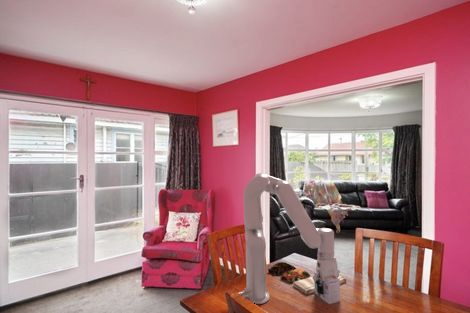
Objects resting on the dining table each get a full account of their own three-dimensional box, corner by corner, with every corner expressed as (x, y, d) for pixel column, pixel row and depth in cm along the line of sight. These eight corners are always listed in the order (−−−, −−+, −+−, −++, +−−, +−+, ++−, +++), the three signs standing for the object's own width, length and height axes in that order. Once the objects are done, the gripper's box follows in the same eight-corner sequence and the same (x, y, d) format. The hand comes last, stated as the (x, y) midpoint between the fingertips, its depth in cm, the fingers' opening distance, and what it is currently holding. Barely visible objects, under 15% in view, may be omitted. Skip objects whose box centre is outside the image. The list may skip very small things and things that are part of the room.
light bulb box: (314, 293, 127) (313, 271, 127) (325, 290, 130) (324, 269, 130) (329, 304, 117) (328, 280, 117) (340, 301, 120) (340, 278, 120)
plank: (306, 294, 126) (306, 290, 126) (293, 285, 135) (293, 281, 135) (346, 281, 139) (346, 277, 139) (331, 274, 148) (331, 271, 148)
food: (263, 272, 153) (263, 266, 153) (283, 264, 165) (283, 259, 165) (293, 286, 136) (293, 279, 136) (313, 276, 148) (313, 270, 148)
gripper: (318, 260, 117) (319, 299, 116) (345, 253, 124) (346, 290, 124) (306, 255, 123) (307, 291, 123) (333, 249, 131) (333, 283, 131)
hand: (326, 290), depth 124 cm, fingers open, 8 cm apart
